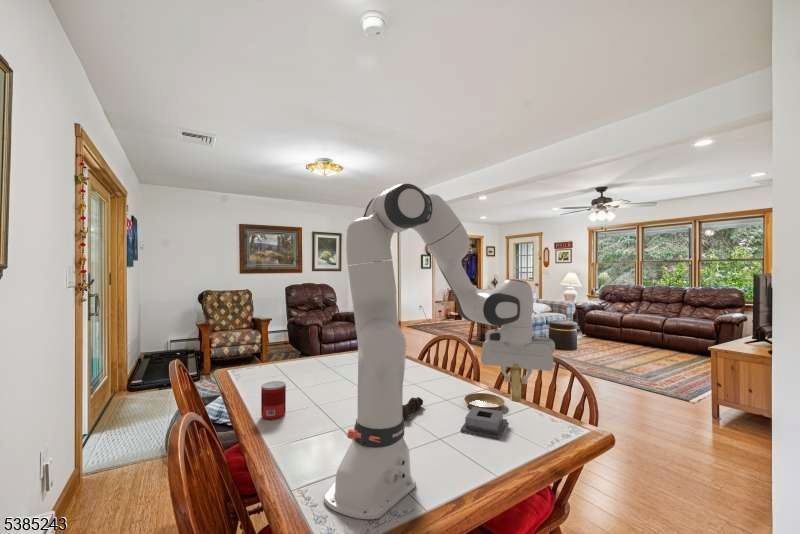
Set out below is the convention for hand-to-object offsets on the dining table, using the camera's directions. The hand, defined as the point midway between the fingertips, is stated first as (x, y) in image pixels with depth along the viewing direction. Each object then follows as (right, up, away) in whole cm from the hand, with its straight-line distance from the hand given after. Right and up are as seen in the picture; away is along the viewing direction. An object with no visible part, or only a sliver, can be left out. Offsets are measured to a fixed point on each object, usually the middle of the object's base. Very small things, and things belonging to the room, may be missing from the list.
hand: (515, 382), depth 107 cm
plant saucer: (-2, -19, +30) cm, 35 cm away
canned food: (-78, -18, +20) cm, 82 cm away
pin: (0, -5, 0) cm, 5 cm away
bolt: (-30, -19, +23) cm, 42 cm away
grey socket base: (-6, -18, +12) cm, 23 cm away
